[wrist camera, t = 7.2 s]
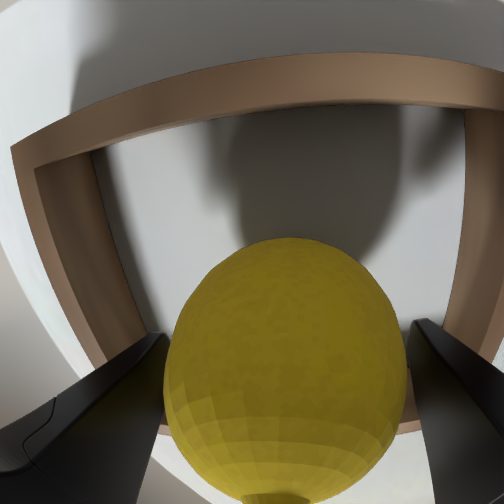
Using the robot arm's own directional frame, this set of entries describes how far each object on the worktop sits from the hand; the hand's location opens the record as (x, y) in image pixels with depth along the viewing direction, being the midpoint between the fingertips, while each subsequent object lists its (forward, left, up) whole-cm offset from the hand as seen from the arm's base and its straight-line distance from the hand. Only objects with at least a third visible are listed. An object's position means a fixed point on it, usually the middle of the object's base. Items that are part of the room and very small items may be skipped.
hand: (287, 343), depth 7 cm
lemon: (0, 0, -4) cm, 4 cm away
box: (0, 0, -4) cm, 4 cm away
